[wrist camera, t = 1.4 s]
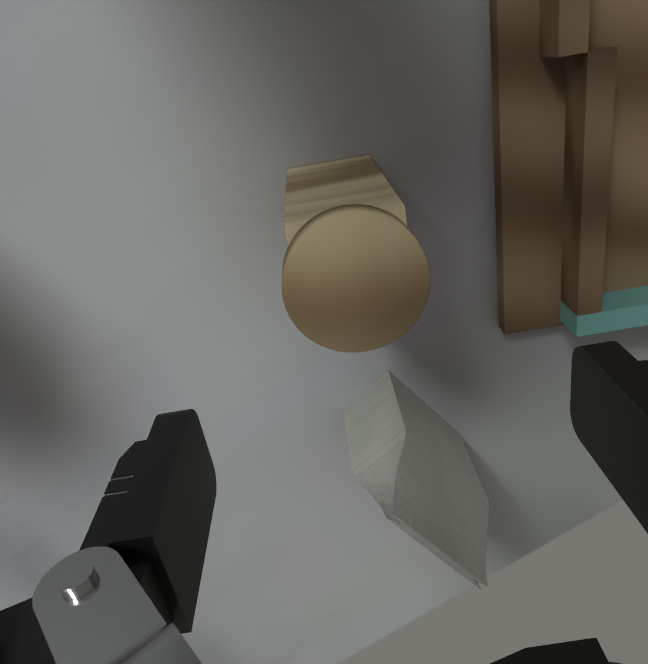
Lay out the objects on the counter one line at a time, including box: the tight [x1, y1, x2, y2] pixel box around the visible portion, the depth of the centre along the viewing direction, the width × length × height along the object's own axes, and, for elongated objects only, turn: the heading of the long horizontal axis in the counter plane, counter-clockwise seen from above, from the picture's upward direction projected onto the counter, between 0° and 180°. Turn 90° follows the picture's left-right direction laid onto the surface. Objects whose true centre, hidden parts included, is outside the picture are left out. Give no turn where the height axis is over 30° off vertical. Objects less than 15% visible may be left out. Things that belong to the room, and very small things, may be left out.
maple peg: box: [282, 154, 430, 352], centre depth 23 cm, size 5×5×11 cm
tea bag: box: [343, 370, 490, 589], centre depth 30 cm, size 4×7×10 cm, turn 45°
